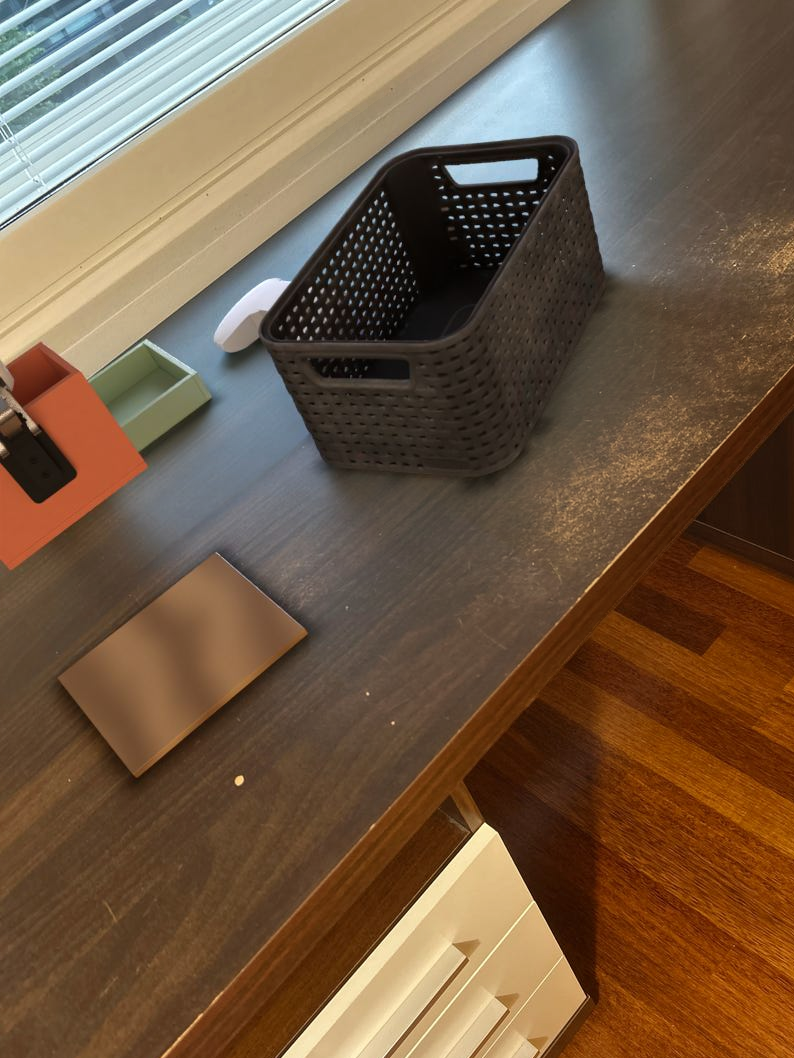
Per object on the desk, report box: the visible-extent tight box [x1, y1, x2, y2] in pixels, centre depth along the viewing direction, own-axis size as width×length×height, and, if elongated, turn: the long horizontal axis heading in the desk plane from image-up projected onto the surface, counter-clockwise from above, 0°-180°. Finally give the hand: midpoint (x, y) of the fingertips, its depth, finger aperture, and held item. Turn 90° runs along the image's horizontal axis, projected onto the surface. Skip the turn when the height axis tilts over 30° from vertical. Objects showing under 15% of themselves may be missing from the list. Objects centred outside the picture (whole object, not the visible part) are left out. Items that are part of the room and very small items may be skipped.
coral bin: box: [0, 341, 149, 571], centre depth 66 cm, size 11×6×8 cm, turn 132°
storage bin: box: [258, 134, 608, 478], centre depth 87 cm, size 29×19×13 cm
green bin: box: [87, 338, 213, 453], centre depth 100 cm, size 15×11×4 cm
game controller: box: [213, 277, 351, 361], centre depth 102 cm, size 14×4×10 cm
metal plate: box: [57, 551, 309, 779], centre depth 79 cm, size 16×14×1 cm
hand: (34, 466), depth 66 cm, fingers closed on coral bin, 6 cm apart
